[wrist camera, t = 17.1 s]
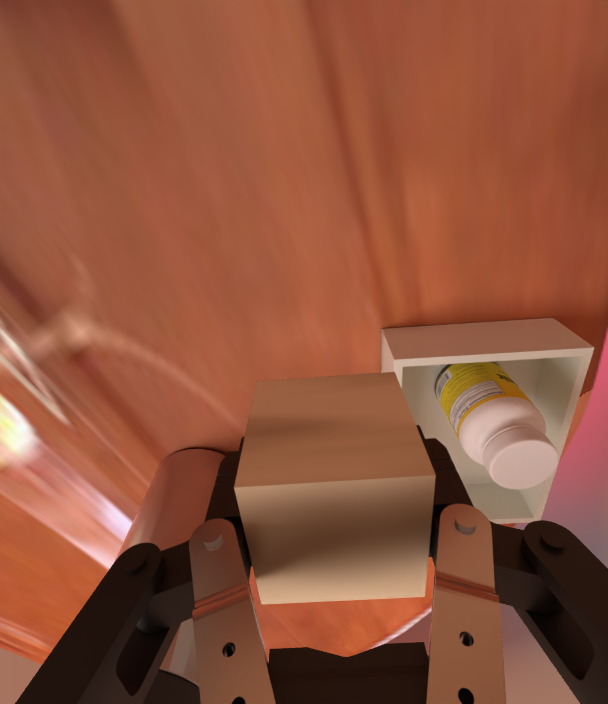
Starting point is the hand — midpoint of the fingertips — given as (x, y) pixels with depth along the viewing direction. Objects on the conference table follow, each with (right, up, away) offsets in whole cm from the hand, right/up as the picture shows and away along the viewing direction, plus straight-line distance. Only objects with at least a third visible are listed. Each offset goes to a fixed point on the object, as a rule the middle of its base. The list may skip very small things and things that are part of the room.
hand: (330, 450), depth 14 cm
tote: (+12, -2, +20) cm, 24 cm away
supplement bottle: (+12, +2, +18) cm, 21 cm away
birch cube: (0, 0, +1) cm, 1 cm away
